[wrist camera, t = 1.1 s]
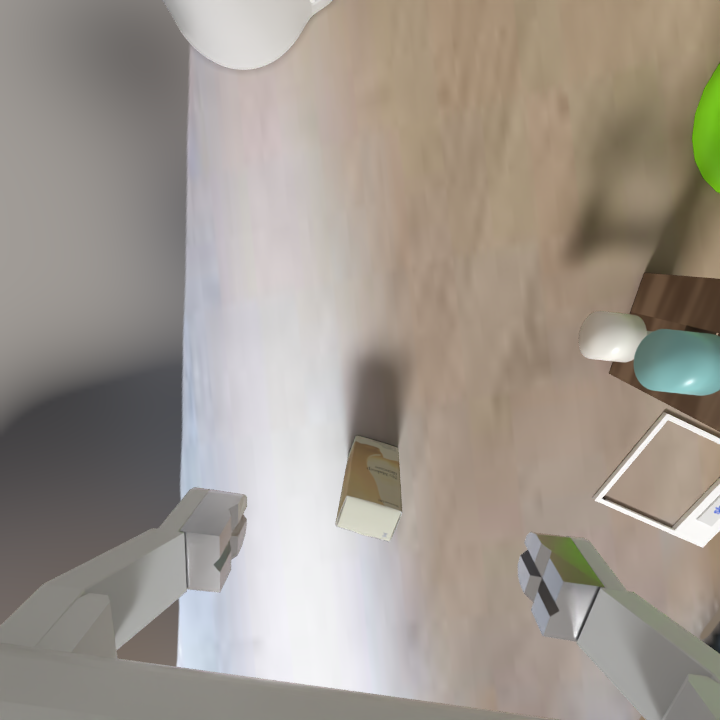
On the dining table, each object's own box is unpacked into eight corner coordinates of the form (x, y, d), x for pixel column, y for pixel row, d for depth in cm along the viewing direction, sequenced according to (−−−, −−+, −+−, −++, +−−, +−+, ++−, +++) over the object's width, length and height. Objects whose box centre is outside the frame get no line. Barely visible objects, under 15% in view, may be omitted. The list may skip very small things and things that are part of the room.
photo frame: (703, 548, 48) (595, 501, 46) (696, 542, 49) (590, 495, 47) (784, 469, 44) (668, 414, 42) (775, 464, 45) (661, 410, 43)
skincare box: (399, 446, 46) (406, 512, 34) (389, 472, 47) (393, 544, 36) (353, 433, 46) (345, 495, 34) (344, 459, 47) (334, 528, 35)
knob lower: (573, 351, 34) (601, 365, 30) (587, 307, 33) (618, 315, 28) (701, 365, 34) (747, 381, 30) (720, 321, 32) (771, 332, 28)
